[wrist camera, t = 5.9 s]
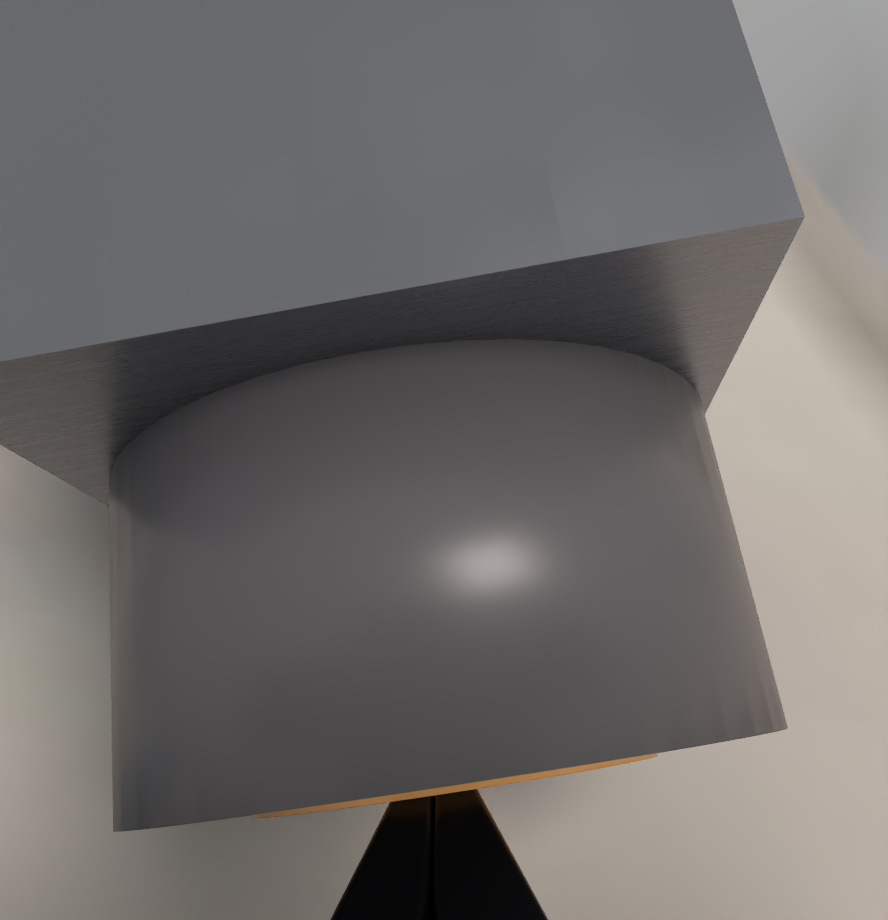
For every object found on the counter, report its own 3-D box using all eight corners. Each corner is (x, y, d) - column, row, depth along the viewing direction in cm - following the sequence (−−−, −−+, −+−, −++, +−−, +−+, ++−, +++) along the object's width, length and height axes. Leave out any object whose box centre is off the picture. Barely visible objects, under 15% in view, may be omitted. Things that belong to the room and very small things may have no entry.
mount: (699, 547, 17) (946, 245, 7) (219, 626, 18) (-226, 453, 7) (616, 216, 20) (705, -362, 10) (201, 292, 20) (-146, -180, 10)
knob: (713, 739, 14) (914, 730, 7) (246, 810, 15) (-61, 875, 7) (565, 113, 19) (584, -322, 11) (208, 180, 19) (-9, -196, 11)
